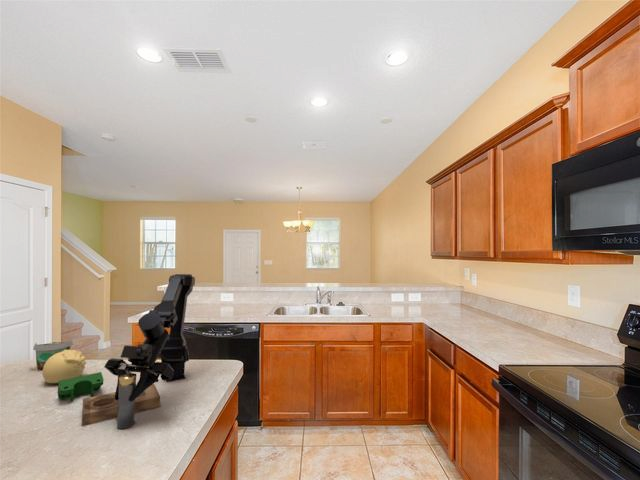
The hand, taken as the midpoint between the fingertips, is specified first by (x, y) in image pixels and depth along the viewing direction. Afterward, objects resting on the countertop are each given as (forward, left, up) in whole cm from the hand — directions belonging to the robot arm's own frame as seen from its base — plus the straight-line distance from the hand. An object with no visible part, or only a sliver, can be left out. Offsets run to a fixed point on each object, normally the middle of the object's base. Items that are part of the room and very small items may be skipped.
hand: (122, 400), depth 84 cm
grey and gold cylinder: (-1, -1, -7) cm, 7 cm away
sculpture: (+14, -47, -8) cm, 50 cm away
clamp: (+9, -28, -8) cm, 31 cm away
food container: (+19, -64, -8) cm, 67 cm away
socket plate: (-1, -13, -7) cm, 15 cm away
